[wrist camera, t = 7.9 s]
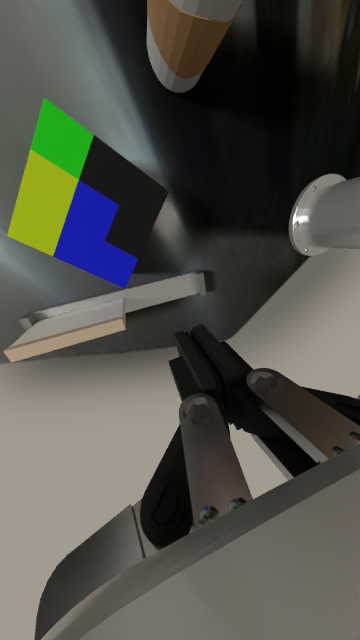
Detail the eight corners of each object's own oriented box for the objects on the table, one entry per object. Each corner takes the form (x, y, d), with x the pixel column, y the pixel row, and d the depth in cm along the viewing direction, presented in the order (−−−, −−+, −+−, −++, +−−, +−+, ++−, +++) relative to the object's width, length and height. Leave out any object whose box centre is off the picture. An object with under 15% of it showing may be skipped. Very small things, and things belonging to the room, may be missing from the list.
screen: (122, 298, 28) (121, 318, 20) (125, 306, 28) (125, 329, 21) (37, 320, 26) (3, 351, 18) (42, 328, 26) (11, 362, 19)
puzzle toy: (125, 273, 28) (125, 288, 19) (51, 237, 24) (7, 235, 15) (153, 208, 25) (169, 191, 17) (77, 156, 21) (44, 97, 13)
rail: (196, 269, 30) (203, 272, 28) (199, 290, 32) (206, 294, 29) (29, 311, 26) (18, 319, 24) (42, 332, 28) (33, 342, 25)
